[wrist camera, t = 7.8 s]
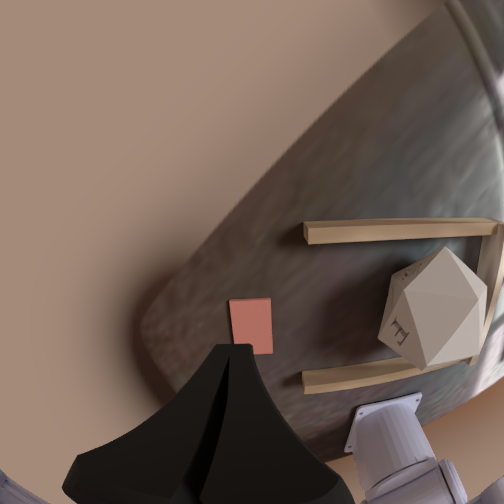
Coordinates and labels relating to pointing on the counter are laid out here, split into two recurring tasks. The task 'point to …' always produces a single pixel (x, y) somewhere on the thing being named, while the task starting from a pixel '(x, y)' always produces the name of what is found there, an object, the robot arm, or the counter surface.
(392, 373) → the channel
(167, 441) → the robot arm
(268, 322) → the mat
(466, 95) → the counter surface
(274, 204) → the counter surface
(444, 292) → the die
